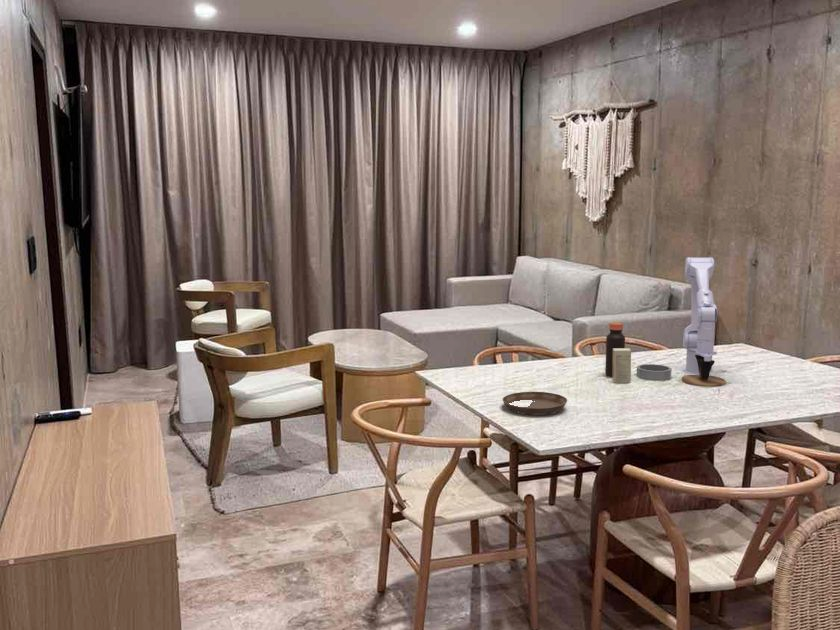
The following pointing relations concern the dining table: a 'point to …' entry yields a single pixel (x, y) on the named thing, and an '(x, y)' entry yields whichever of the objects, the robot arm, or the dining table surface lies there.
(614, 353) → the skincare box
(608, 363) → the bottle
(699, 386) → the mat
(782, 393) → the dining table surface
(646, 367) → the bowl
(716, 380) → the lid
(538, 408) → the plant saucer
